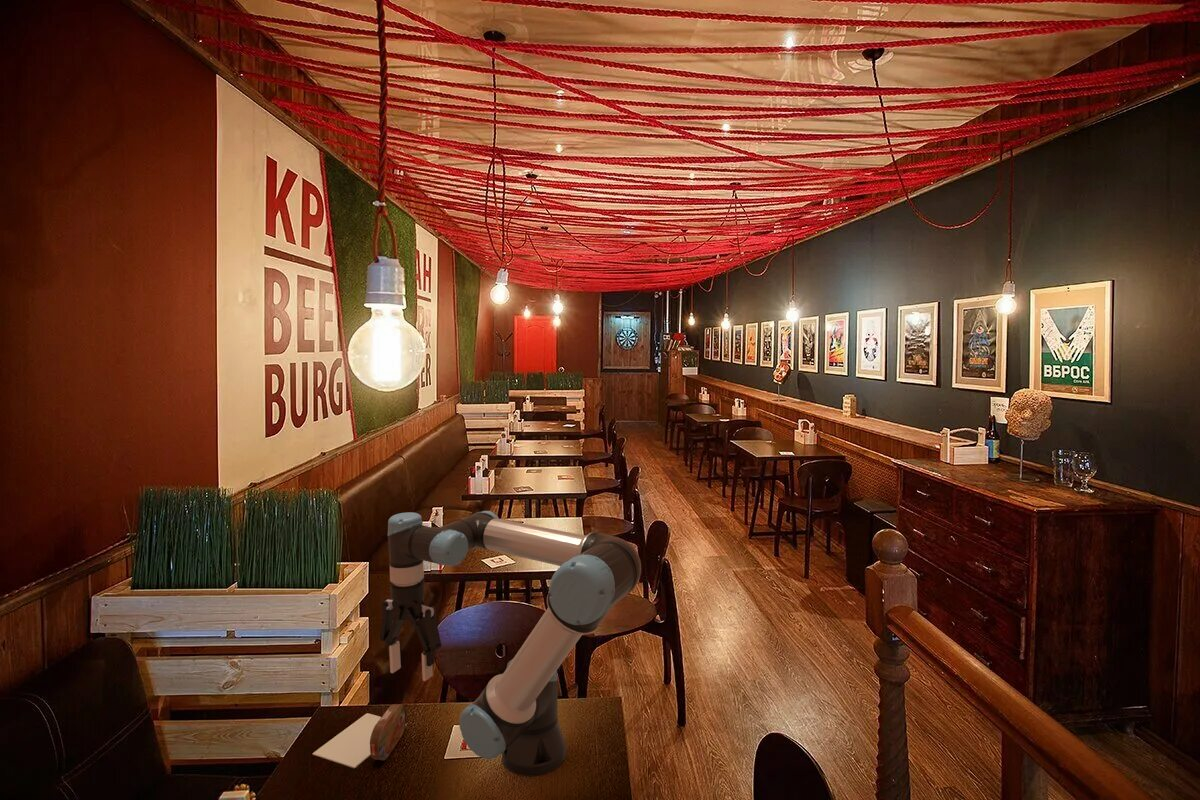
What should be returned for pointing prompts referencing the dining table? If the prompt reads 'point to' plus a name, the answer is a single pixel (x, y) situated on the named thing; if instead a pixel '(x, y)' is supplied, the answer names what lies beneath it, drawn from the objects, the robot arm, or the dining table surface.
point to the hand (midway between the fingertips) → (411, 673)
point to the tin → (388, 732)
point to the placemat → (351, 743)
